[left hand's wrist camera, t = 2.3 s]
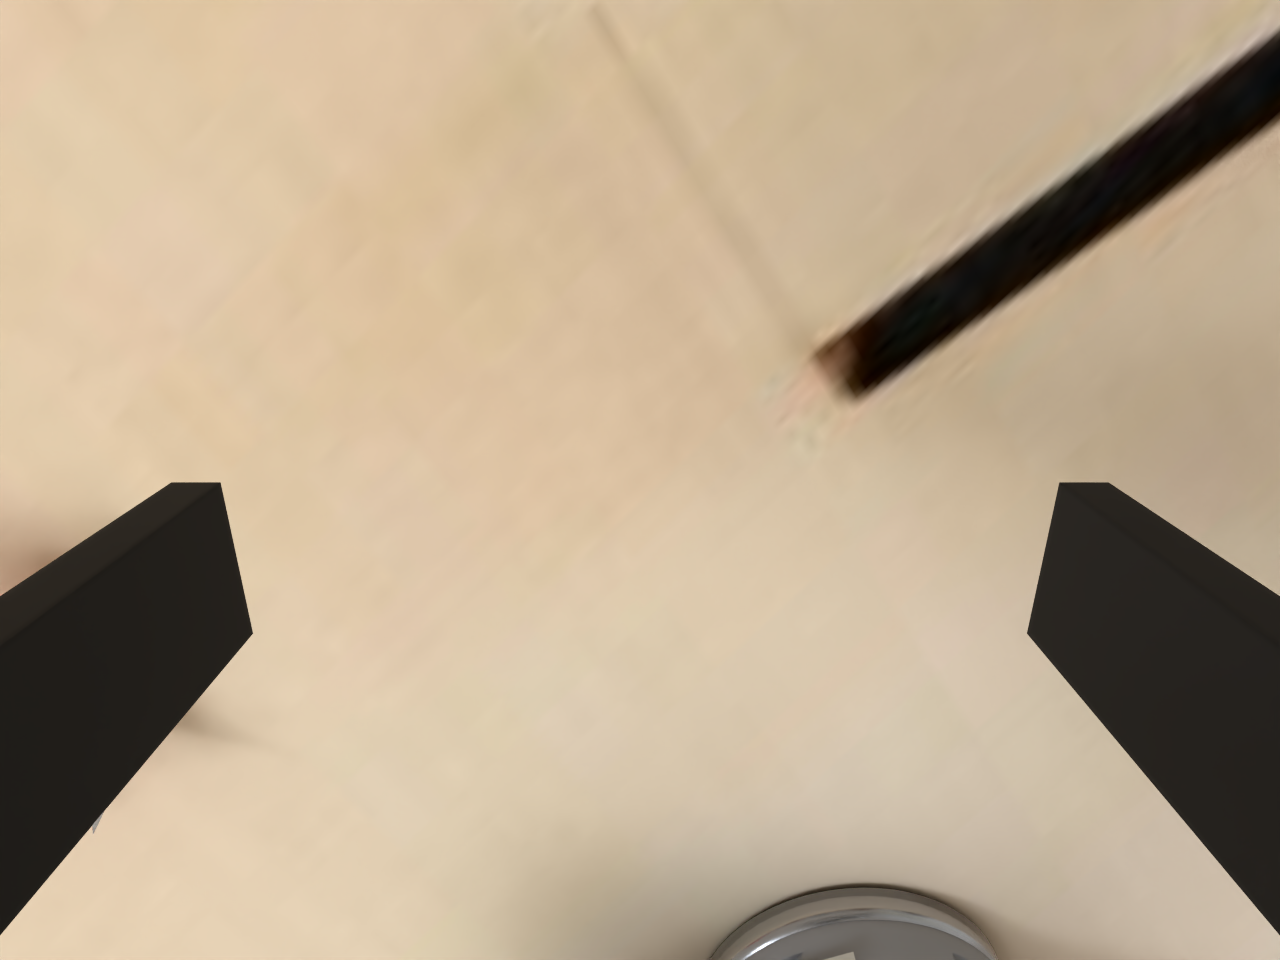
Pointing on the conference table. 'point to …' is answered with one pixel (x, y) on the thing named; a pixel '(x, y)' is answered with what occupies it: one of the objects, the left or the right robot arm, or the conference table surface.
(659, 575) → the conference table surface
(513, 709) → the conference table surface
